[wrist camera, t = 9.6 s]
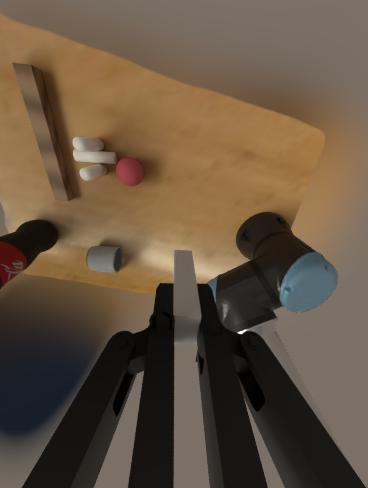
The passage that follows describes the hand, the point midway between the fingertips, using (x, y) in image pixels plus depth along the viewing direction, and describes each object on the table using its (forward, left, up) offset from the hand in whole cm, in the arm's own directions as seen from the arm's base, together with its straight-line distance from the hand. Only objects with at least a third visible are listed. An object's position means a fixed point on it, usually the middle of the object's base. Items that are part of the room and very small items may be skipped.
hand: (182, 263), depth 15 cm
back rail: (+21, +21, -32) cm, 44 cm away
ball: (+8, +8, -29) cm, 32 cm away
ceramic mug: (-9, +28, -33) cm, 44 cm away
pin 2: (+12, +14, -32) cm, 37 cm away
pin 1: (+16, +12, -32) cm, 38 cm away
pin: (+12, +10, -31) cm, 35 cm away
